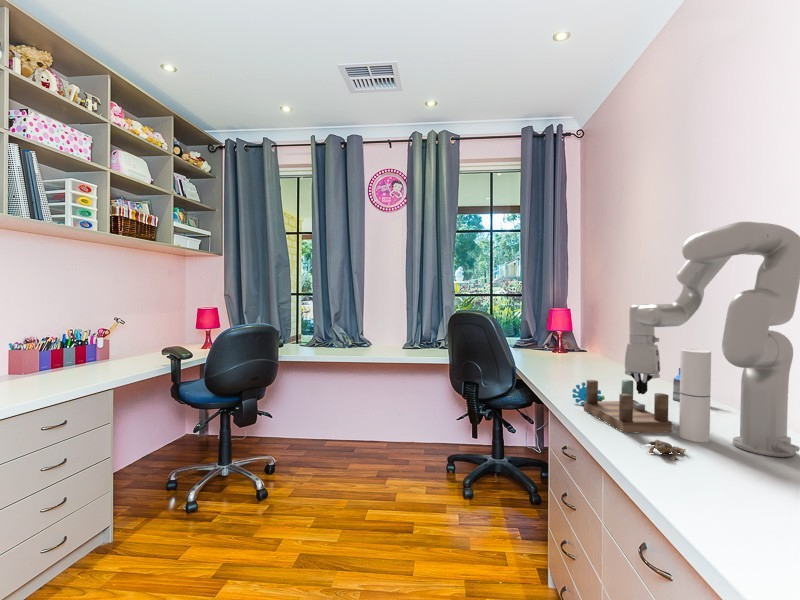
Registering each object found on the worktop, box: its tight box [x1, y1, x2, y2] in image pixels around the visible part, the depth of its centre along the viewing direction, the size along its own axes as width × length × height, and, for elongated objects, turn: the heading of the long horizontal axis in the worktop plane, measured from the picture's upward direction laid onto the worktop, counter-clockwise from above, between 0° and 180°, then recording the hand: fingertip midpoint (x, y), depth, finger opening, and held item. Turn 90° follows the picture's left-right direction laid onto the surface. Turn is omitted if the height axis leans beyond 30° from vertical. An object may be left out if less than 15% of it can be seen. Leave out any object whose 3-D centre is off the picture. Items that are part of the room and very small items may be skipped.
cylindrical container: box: [678, 348, 712, 443], centre depth 121 cm, size 7×7×25 cm
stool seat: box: [583, 379, 673, 433], centre depth 137 cm, size 24×15×11 cm, turn 3°
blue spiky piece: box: [572, 382, 606, 406], centre depth 158 cm, size 11×6×10 cm
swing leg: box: [621, 379, 646, 411], centre depth 143 cm, size 13×4×8 cm, turn 174°
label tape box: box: [672, 367, 680, 402], centre depth 160 cm, size 9×4×12 cm, turn 28°
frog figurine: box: [647, 439, 687, 460], centre depth 110 cm, size 12×12×4 cm
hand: (641, 393), depth 146 cm, fingers closed
